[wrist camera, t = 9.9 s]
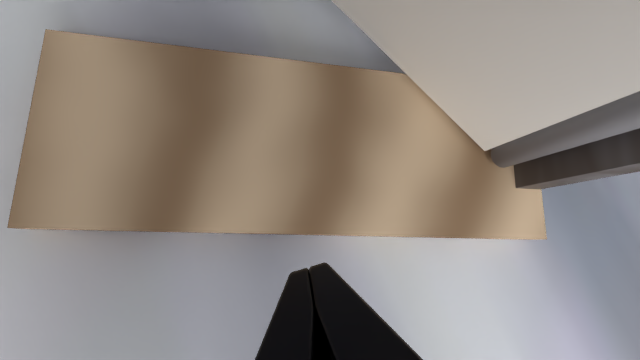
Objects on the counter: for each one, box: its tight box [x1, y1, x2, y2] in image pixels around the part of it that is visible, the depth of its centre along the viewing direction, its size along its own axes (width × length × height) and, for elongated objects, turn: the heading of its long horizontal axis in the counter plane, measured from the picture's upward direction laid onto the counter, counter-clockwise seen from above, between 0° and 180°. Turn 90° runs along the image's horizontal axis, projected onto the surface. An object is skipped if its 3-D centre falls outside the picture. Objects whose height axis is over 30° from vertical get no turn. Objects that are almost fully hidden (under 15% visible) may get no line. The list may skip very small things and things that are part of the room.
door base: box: [7, 29, 640, 239], centre depth 11 cm, size 23×8×10 cm, turn 89°
